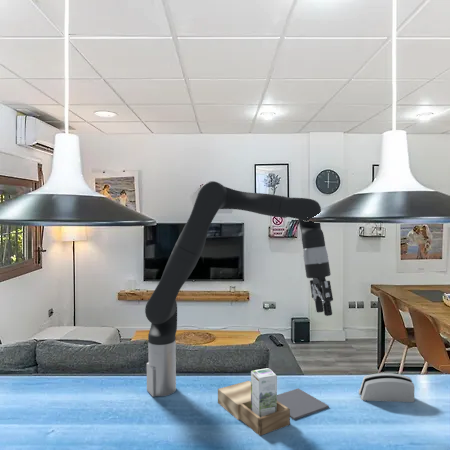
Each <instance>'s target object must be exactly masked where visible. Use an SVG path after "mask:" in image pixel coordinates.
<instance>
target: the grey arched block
mask: <svg viewBox="0 0 450 450" xmlns="http://www.w3.org/2000/svg"><path fill="white" fill-rule="evenodd" d="M361 381H362V382H361V385H360V387H359V389H358V395H359V396H360V400H361V401H362V400H364V401H366V400H367V402H391V403H392V402H399V403H415V384H414V382H413V381H412V379H411V378H410V377H409V376H406V375H404V374H398V373H389V372H382V373H381V372H380V373H373V374H368V375H365V376H363V379H362V380H361Z"/></svg>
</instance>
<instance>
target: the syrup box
mask: <svg viewBox="0 0 450 450" xmlns="http://www.w3.org/2000/svg"><path fill="white" fill-rule="evenodd" d="M250 382H251V411H253V412H254V413H255V414H257V415H258V416H259V417H263V416H266V415H268V414H271V413H274V412H277V395H278V375H277V374H276V373H275V372H274V371H273V370H272V369H271V368H267V367H266V368H261V369H255V370H254V369H253V370H251V371H250Z"/></svg>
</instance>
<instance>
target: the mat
mask: <svg viewBox="0 0 450 450" xmlns="http://www.w3.org/2000/svg"><path fill="white" fill-rule="evenodd" d="M277 401H278V402H280V403H281V404H283V405H284V406H286V407H287V408H289V409H290V419H292V420H293V421H295V420H298V419H301V418H303V417H306V416H309V415H312V414H315V413H318V412H320V411H323V410H326V409H328V408H330V406H329V404H327V403H325V402H324V401H322V400H319V399H318V398H316V397H314V396H312V395H310V393H308V392H306V391H304V390H303V389H300V388H296V389H292V390H288V391H286V392H283V393H277Z"/></svg>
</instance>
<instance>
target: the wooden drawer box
mask: <svg viewBox="0 0 450 450" xmlns="http://www.w3.org/2000/svg"><path fill="white" fill-rule="evenodd" d="M217 403H218V405H220V406H221V407H222V408H224V410H225V411H227V412H228V413H229V414H230V415H232V417H234V418H235V419H236V420H237V421H241V422H243V423H244V424H245V425H246V426H247V427H249V428H250V429H251V430H252V431H253V432H254V433H256V434H257V435H258V436H263V435H266V434H268V433H271V432H274V431H277V430H280V429H282V428H285V427H287V426H290V424H291V418H290V409H289V408H287V407H286V406H284V405H283V404H281V403H280V402H278V401H277V412H274V413H271V414H268V415H266V416H263V417H259V416H258V415H257V414H255V413H254V412H253V411H251V380H245V381H243V382H238V383H235V384H231V385H228V386H223V387H220V388H217Z"/></svg>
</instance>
